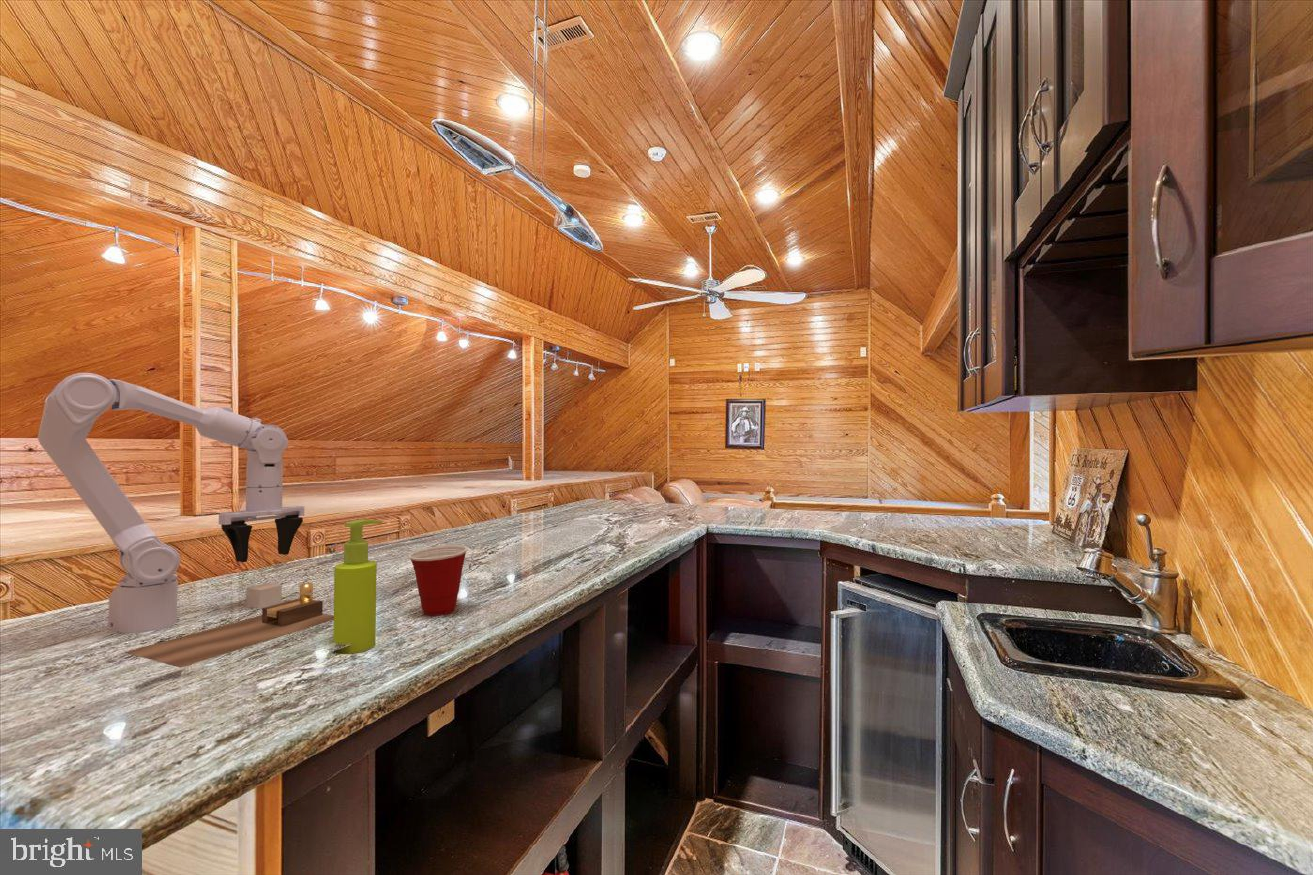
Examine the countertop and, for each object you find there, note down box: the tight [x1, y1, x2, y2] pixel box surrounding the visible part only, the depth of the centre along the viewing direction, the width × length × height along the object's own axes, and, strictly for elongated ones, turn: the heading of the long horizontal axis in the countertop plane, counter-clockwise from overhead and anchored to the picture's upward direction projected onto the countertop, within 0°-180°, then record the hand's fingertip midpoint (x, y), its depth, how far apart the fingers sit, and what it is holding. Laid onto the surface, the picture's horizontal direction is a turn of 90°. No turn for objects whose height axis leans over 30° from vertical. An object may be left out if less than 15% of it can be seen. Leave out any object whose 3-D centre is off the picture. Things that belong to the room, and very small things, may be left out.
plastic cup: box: [407, 544, 469, 617], centre depth 105 cm, size 11×11×12 cm
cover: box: [245, 582, 283, 610], centre depth 104 cm, size 11×11×6 cm
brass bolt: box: [267, 582, 317, 618], centre depth 95 cm, size 2×7×4 cm, turn 158°
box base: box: [124, 597, 334, 669], centre depth 88 cm, size 14×24×4 cm, turn 158°
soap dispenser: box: [332, 518, 383, 655], centre depth 87 cm, size 6×7×20 cm
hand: (263, 557), depth 104 cm, fingers open, 7 cm apart
